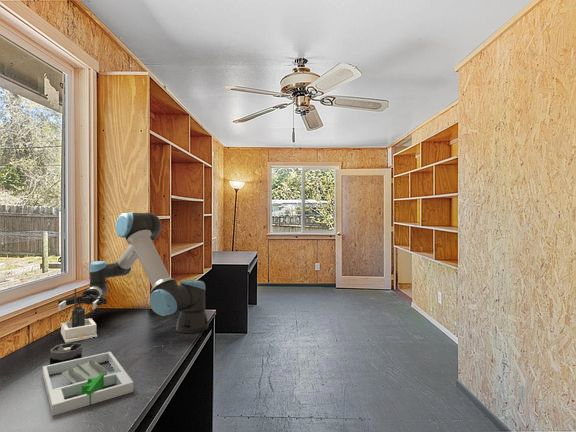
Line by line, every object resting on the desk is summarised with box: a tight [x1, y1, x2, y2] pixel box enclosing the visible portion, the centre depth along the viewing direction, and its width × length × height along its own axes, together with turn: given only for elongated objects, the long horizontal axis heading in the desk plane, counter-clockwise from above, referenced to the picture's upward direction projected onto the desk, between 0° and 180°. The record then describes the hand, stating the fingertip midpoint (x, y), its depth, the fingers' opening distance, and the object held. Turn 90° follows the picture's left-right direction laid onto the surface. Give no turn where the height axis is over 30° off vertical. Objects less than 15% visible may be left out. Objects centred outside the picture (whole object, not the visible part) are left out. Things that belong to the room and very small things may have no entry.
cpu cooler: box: [49, 342, 83, 365], centre depth 129 cm, size 10×6×10 cm
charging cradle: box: [60, 317, 98, 344], centre depth 157 cm, size 16×12×5 cm
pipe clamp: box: [81, 373, 105, 406], centre depth 105 cm, size 10×4×4 cm, turn 9°
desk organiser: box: [42, 351, 134, 417], centre depth 113 cm, size 30×21×3 cm
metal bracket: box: [61, 359, 117, 396], centre depth 115 cm, size 14×6×15 cm
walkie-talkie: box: [71, 288, 86, 328], centre depth 157 cm, size 5×3×20 cm
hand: (76, 306), depth 154 cm, fingers open, 13 cm apart
